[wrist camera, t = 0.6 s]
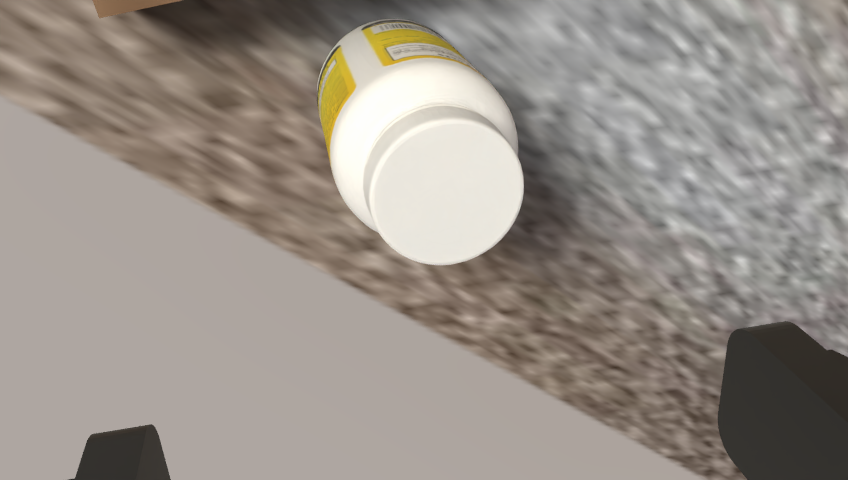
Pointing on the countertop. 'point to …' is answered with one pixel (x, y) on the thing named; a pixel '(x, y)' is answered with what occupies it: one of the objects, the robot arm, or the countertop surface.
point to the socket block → (125, 6)
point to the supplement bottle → (419, 142)
